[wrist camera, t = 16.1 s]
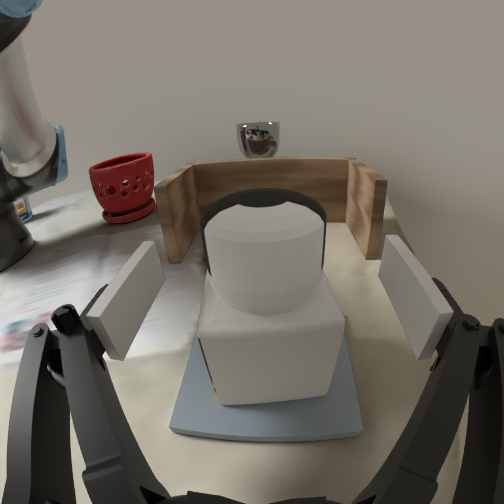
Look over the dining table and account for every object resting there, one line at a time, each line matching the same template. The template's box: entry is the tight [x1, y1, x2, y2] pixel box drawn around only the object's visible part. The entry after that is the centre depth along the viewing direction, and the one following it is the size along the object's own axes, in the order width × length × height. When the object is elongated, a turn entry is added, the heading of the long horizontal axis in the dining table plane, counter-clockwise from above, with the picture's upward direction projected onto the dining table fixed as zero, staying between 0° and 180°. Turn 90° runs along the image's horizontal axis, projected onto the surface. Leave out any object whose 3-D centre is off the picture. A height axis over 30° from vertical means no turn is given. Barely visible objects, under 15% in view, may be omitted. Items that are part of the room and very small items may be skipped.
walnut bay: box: [154, 157, 387, 263], centre depth 36 cm, size 13×26×10 cm, turn 86°
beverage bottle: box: [14, 196, 33, 223], centre depth 57 cm, size 8×8×20 cm
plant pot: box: [89, 152, 155, 223], centre depth 48 cm, size 13×13×12 cm
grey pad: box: [169, 332, 363, 442], centre depth 19 cm, size 12×12×1 cm
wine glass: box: [236, 122, 280, 159], centre depth 48 cm, size 8×8×15 cm
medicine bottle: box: [197, 188, 345, 405], centre depth 16 cm, size 7×7×12 cm
